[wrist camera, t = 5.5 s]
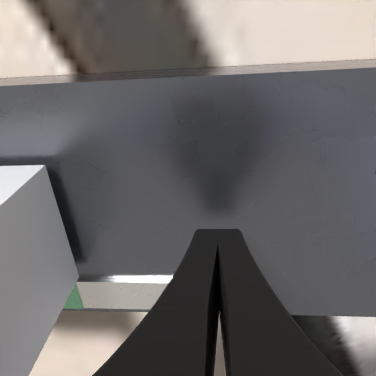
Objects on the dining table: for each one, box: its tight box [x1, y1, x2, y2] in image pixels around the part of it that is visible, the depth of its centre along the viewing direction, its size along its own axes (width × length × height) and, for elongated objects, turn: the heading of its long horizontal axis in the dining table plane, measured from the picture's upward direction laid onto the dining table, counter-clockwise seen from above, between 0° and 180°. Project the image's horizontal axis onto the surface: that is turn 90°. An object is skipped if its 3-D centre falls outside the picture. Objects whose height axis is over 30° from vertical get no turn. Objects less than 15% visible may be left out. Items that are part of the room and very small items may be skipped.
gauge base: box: [0, 59, 376, 317], centre depth 10 cm, size 24×10×8 cm, turn 93°
